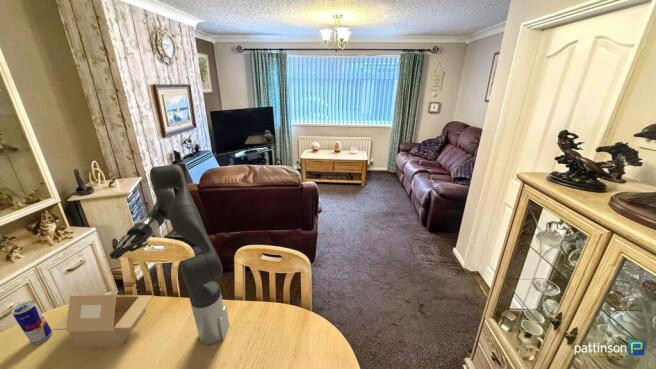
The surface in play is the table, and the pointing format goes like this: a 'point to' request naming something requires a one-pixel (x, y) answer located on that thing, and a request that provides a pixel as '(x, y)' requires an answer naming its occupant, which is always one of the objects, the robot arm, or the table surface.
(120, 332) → the carton
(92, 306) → the lid flap
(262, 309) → the table surface
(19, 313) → the beverage can
